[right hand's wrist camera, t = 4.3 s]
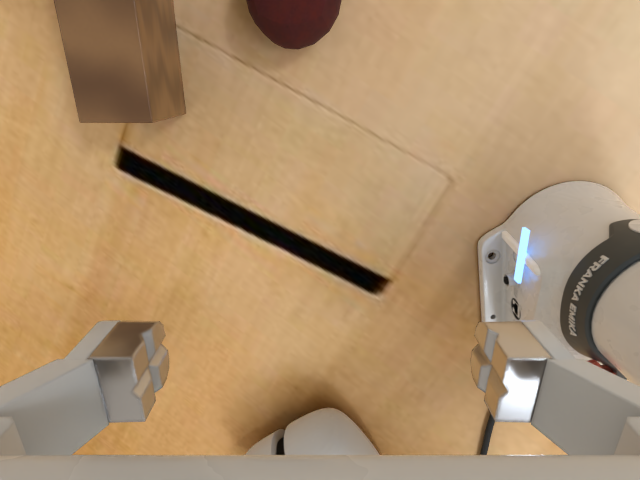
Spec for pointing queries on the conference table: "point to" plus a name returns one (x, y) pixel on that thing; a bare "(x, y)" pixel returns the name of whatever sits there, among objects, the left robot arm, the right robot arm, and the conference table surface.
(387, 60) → the conference table surface
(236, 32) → the conference table surface
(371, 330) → the conference table surface
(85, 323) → the conference table surface
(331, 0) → the plum
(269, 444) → the white rounded shell
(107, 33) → the bar
